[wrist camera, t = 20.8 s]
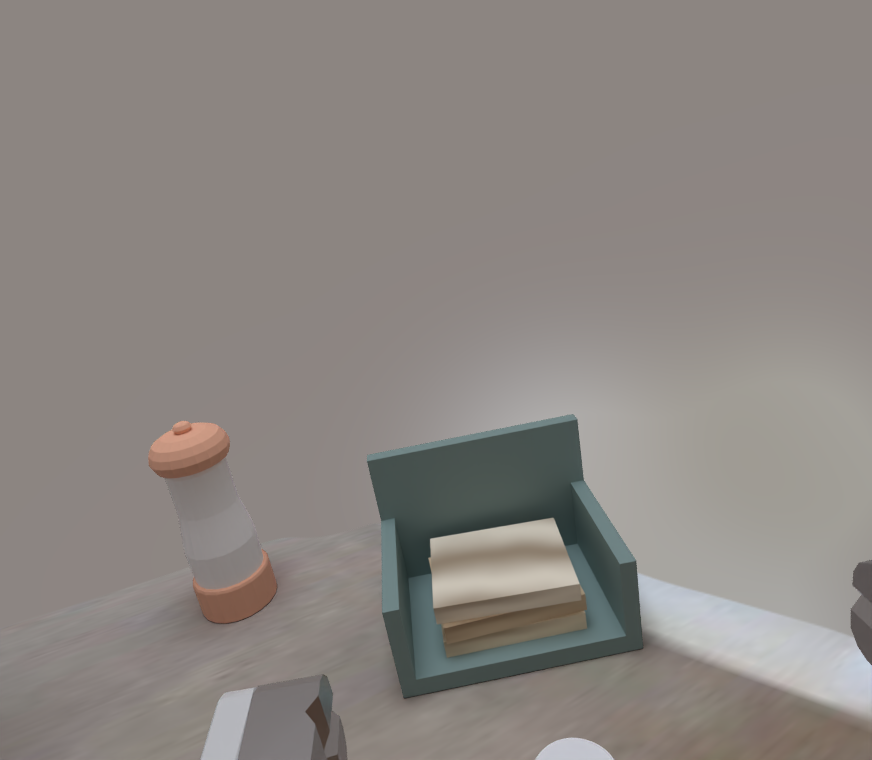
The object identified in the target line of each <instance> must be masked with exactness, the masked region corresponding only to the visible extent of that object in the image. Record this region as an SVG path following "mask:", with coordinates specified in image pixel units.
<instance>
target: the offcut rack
mask: <svg viewBox="0 0 872 760" xmlns="http://www.w3.org/2000/svg"><path fill="white" fill-rule="evenodd" d="M367 463H368V467H369V471H370V475H371V480H372V484H373V488H374V492H375V496H376V500H377V505H378V509H379V513H380V517H381V535H382V614H383V618H384V622H385V626H386V630H387V634H388V638H389V642H390V645H391V649H392V653H393V657H394V661H395V665H396V669H397V673H398V677H399V681H400V685H401V689H402V693H403V697H404V698H407V697H412V696H417V695H422V694H426V693H431V692H436V691H441V690H446V689H450V688H455V687H460V686H465V685H470V684H474V683H479V682H484V681H489V680H493V679H498V678H503V677H508V676H513V675H517V674H522V673H527V672H532V671H537V670H541V669H546V668H551V667H556V666H561V665H565V664H570V663H575V662H580V661H584V660H589V659H594V658H599V657H604V656H608V655H613V654H618V653H623V652H628V651H632V650H637V649H642V648H643V642H642V629H641V616H640V603H639V590H638V578H637V565H636V560H635V558H634V557H633V555H632V554H631V552H630V551H629V549H628V547H627V546H626V544H625V543H624V541H623V540H622V538H621V537H620V535H619V534H618V532H617V530H616V529H615V527H614V526H613V524H612V523H611V521H610V520H609V518H608V517H607V515H606V514H605V512H604V511H603V509H602V507H601V506H600V504H599V503H598V501H597V500H596V498H595V497H594V495H593V494H592V492H591V491H590V489H589V487H588V486H587V485H586V483H585V481H584V478H583V470H582V460H581V451H580V441H579V431H578V422H577V418H576V417H575V416H574V415H573V414H572V415H566V416H561V417H557V418H552V419H546V420H541V421H536V422H531V423H527V424H522V425H517V426H511V427H507V428H502V429H496V430H491V431H486V432H481V433H476V434H471V435H466V436H461V437H456V438H451V439H446V440H441V441H436V442H431V443H426V444H421V445H415V446H410V447H406V448H401V449H396V450H390V451H386V452H380V453H375V454H370V455H368V456H367ZM548 518H554V520H555V522H556V525H557V528H558V530H559V533H560V535H561V538H562V540H563V543H564V545H565V548H566V550H567V553H568V556H569V558H570V561H571V563H572V566H573V568H574V571H575V573H576V576H577V578H578V581H579V583H580V586H581V587H582V589H583V591H584V593H585V596H586V605H587V610H584V611H585V614H586V623H587V629H583V630H578V631H573V632H568V633H563V634H558V635H554V636H549V637H544V638H539V639H534V640H530V641H525V642H520V643H515V644H510V645H505V646H501V647H496V648H491V649H486V650H481V651H477V652H472V653H467V654H462V655H457V656H453V657H448V658H447V656H446V651H445V647H444V642H443V634H442V627H441V624H437V623H436V618H435V614H434V609H433V590H432V573H431V568H430V563H429V559H428V558H430V557H431V548H430V539H432V538H437V537H443V536H449V535H455V534H461V533H467V532H472V531H478V530H484V529H490V528H496V527H501V526H507V525H513V524H519V523H525V522H531V521H536V520H542V519H548Z"/></svg>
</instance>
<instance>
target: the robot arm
mask: <svg viewBox="0 0 872 760" xmlns="http://www.w3.org/2000/svg"><path fill="white" fill-rule="evenodd" d="M853 586H854V587H855V588H856V589H857V590H858V591H859V593H860V594H861V596H860V598H859V599H858V600H857V602H856V603H855V604H854V606H853V607H852V608H851V629H852V632H853V635H854V638H855V640H856V643H857V646H858V647H859V649H860V650H861V652H862V653H863V655H864V656H865V658H866V659H867V661H868V662H869V663H870V664H871V665H872V560H869V561H865V562H860V563H859V564H858V565H857V567H856V568H855V570H854V573H853ZM332 697H333V693H332V690H331V687H330V684H329V681H328V678H327V676H325V675H323V674H322V675H316V676H311V677H305V678H300V679H294V680H289V681H283V682H278V683H272V684H267V685H261V686H258V687H256V688H250V689H244V690H238V691H232V692H227V693H224V694H223V696H222V697H221V698H220V700H219V701H218V703H217V706H216V709H215V712H214V716H213V719H212V722H211V726H210V729H209V732H208V735H207V739H206V742H205V745H204V749H203V752H202V755H201V759H200V760H347V747H346V740H345V735H344V729H343V726H342V722H341V719H340V716H339V715H337V714H336V713H334V712H333V711H331V710H332Z"/></svg>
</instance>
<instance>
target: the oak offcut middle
mask: <svg viewBox="0 0 872 760" xmlns="http://www.w3.org/2000/svg"><path fill="white" fill-rule="evenodd" d="M428 559H429V563H430V568H431V557H430V558H428ZM431 573H432V569H431ZM580 591H581V600H580V601H574V602H568V603H562V604H556V605H550V606H544V607H538V608H532V609H526V610H520V611H514V612H508V613H502V614H496V615H490V616H485V617H479V618H473V619H467V620H461V621H455V622H449V623H443V628H444V632H445V637H446V642H447V644H451V643H455V642H459V641H463V640H467V639H471V638H475V637H479V636H483V635H487V634H491V633H495V632H499V631H503V630H507V629H511V628H515V627H519V626H523V625H527V624H532V623H536V622H540V621H544V620H548V619H552V618H556V617H560V616H564V615H568V614H572V613H576V612H580V611H584V610H587V605H586V596H585V593H584V591H583V589H582V587H581V586H580Z"/></svg>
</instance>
